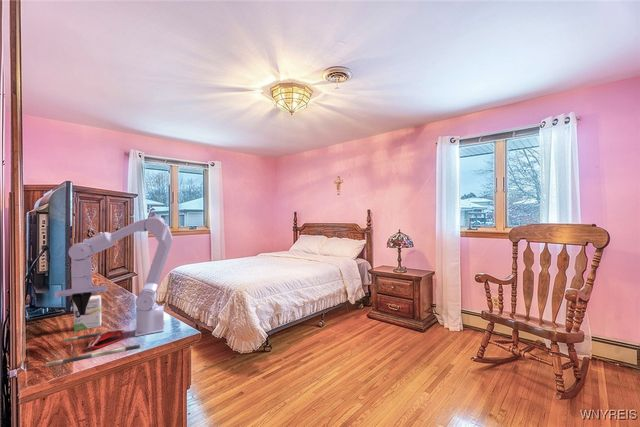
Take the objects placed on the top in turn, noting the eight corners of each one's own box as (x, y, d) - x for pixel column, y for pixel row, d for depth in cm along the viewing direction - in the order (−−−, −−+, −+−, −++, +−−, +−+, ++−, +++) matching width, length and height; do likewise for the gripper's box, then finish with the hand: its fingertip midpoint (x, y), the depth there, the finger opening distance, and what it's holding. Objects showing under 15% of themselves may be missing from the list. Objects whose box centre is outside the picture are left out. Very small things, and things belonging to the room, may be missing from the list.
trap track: (141, 327, 119) (141, 325, 119) (139, 347, 100) (139, 345, 100) (63, 340, 107) (63, 338, 107) (45, 366, 89) (45, 364, 89)
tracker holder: (88, 338, 107) (120, 325, 113) (91, 350, 107) (124, 336, 112) (84, 342, 97) (120, 327, 103) (88, 355, 97) (124, 339, 103)
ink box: (73, 331, 116) (72, 300, 116) (75, 327, 120) (75, 298, 120) (100, 326, 120) (100, 297, 120) (101, 322, 125) (101, 294, 125)
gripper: (108, 272, 114) (108, 308, 114) (58, 276, 107) (59, 314, 107) (105, 275, 108) (106, 313, 108) (52, 280, 101) (53, 320, 101)
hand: (82, 314), depth 107 cm, fingers closed
